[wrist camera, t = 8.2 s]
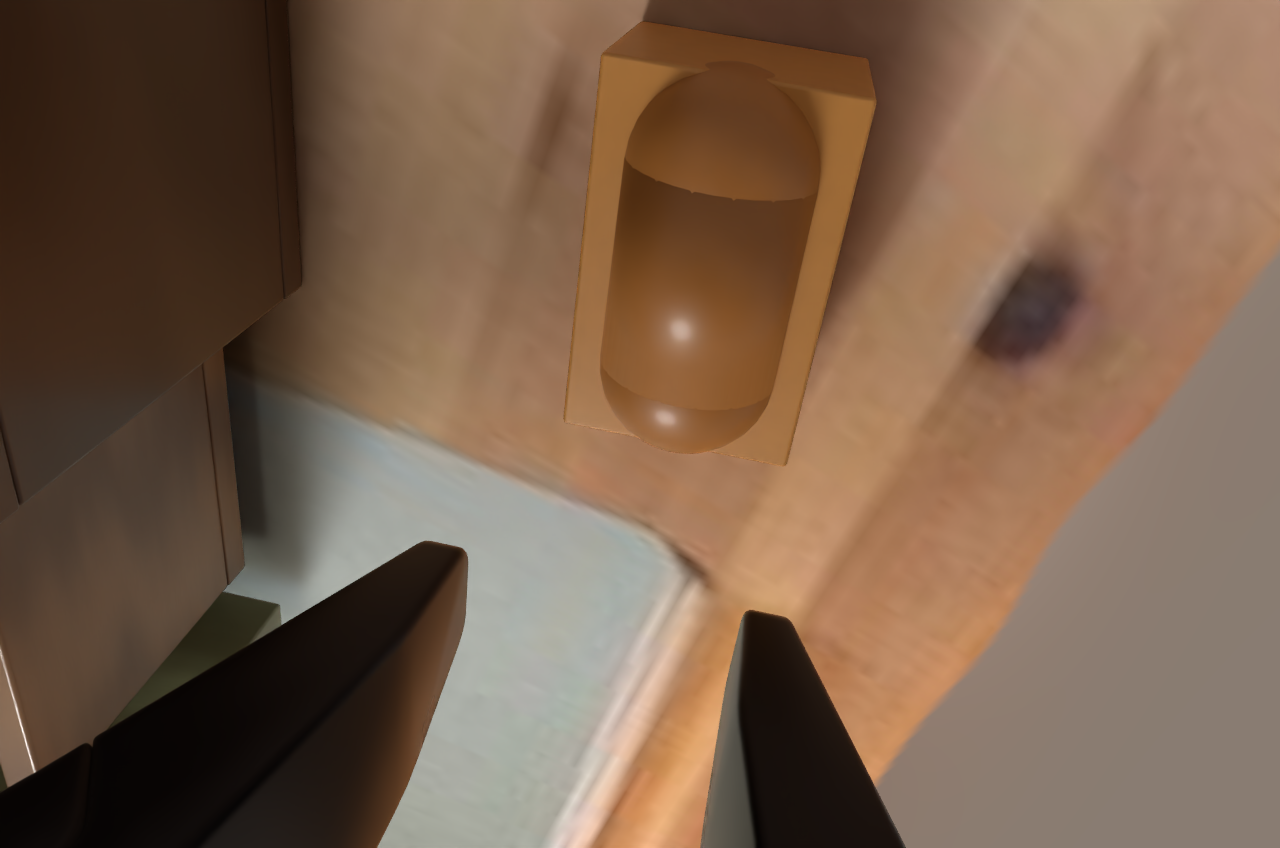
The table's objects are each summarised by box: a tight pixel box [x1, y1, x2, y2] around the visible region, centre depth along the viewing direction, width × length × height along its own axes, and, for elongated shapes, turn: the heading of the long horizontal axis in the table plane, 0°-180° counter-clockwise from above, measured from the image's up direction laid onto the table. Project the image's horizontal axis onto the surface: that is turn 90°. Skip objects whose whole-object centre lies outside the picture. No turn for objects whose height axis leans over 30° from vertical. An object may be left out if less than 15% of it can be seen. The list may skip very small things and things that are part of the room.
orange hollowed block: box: [563, 21, 877, 466], centre depth 17 cm, size 7×4×5 cm, turn 172°
